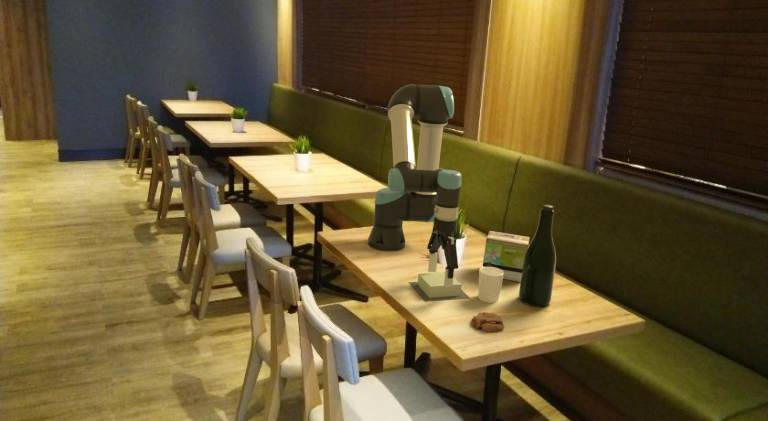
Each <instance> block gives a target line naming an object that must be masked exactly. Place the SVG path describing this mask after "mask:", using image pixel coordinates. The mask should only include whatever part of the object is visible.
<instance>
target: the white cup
mask: <svg viewBox="0 0 768 421" xmlns="http://www.w3.org/2000/svg"><path fill="white" fill-rule="evenodd" d="M478 271H479V272H478V284H477V285H478V287H477V288H478V294H477V298H478V300H480V301H482V302H484V303H489V304H490V303H491V304H493V303H497V302H499V298H500V293H501V289H502V285H503V281H504V279H503V275H504V272H503V271H502V270H501V269H498V268H495V267H483V266H482V267H480V268H479V270H478Z"/></svg>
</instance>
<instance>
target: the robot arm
mask: <svg viewBox="0 0 768 421" xmlns="http://www.w3.org/2000/svg"><path fill="white" fill-rule="evenodd" d="M454 101H455V100H454V95H453V90H452V89H451V88H450V87H448V86H443V85H436V84H435V85H430V84H411V83H410V84H407V85H404V86H402V87H400V88H399V89H397V90H396V91H395V93H394V94H393V95H392V96H391V98H390V99H389V101H388V105H387V117H388V119H389V120H390V125H391V126H390V127H391V142H392V162H393V164H392V165H393V168H390V169H389V171H388V176H387V187H383V188H381V189H378V190H377V191H376V193H375V199H374V211H373V214H374V215H373V224H372V226H373V227H372V228H371V231H370V233H369V235H368V239H367V245H368V246H369V247H370V248H372V249H375V250H379V251H387V252H390V251H391V252H393V251H400V250H403V249H404V248H405V247H406V237H405V233H404V228H403V222H419V223H433V225H432V230H431V231H432V232H431V234H430V235H431V236H430V238H429V241H428V243H427V246H426V249H427V250H428V253H429V257H428V259H429V260H428V269H427V271H428V272H427V273H437V265H438V256H439V255H438V254H439V249H440V248H441V249H442V250H443V254H444V257H445V262H446V266H445V271H444V272H445V280H444V287H452V286H453V277H455V276H454V274H455V270H457V269H459V262H458V252H457V237H452V235H453V233H454V232H456V231H457V224H458V220H457V219H458V218H459V209H460V208H459V207H460V205H459V203H460V195H461V186H462V183H463V182H462V173H461V172H460V171H457V170H453V169H445V168H440V159H441V150H442V142H443V141H442V140H443V132H444V127H445V126H447V125H448V123H449V119H452V118H453V117H454V114H455V102H454ZM414 117H416V118H417V119H416V120H417V123H418V124H419V125H420V130H419V131H420V132H419V138H418V139H419V141H418V150H417V151H418V152H417V162H416V154H415V153H416V152H415V141H414V133H413V132H414V131H413V130H414V129H413V118H414Z"/></svg>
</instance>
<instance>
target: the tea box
mask: <svg viewBox="0 0 768 421" xmlns="http://www.w3.org/2000/svg"><path fill="white" fill-rule="evenodd" d="M529 245H530V236H525V235H524V236H523V235H519V234H513V233H508V232H507V233H506V232H501V231H499V232H498V231H493V230H489V231H488V235H487V237H486V240H485V246H484V253H483V261H482V267H495V268H498V269H501V270H502V271H503V272H504V275H503V280H509V281H514V282H519V283H520V282H521V276H522V270H523V264H524V258H525V254H526V251H527V248H528V246H529Z"/></svg>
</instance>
